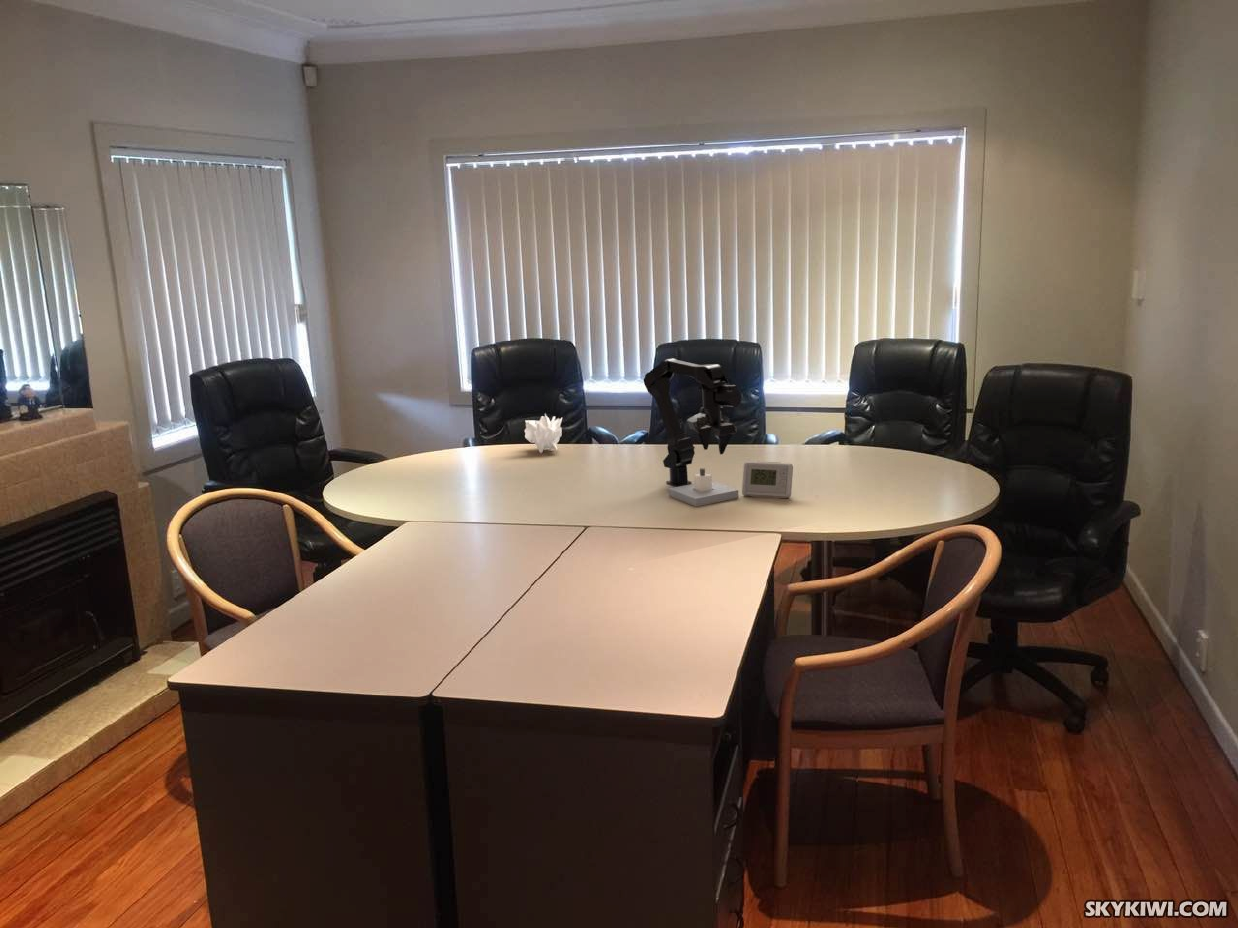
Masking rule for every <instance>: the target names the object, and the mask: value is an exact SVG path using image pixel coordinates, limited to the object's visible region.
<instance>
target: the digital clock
mask: <svg viewBox="0 0 1238 928" xmlns="http://www.w3.org/2000/svg"><path fill="white" fill-rule="evenodd" d="M793 473H794V465H793V464H792V463H788V462H780V461H779V462H777V461H776V462H772V461H744V464H743V472H742V485H741V486H742V487H741V494H742V495H743V496H746V497H747V496H748V497H753V498H765V499H769V498H770V499H781V498H782V499H789V498H791V496H792V491H793V489H792V487H793V475H794V474H793Z"/></svg>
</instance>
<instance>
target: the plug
mask: <svg viewBox="0 0 1238 928" xmlns="http://www.w3.org/2000/svg"><path fill="white" fill-rule="evenodd" d="M712 481H713V479H712V474H709V473H706V469H705V468H704V467H703V468H699V473H696V474H693V484H694V487H695V490H696V491H698V492H705V491H710V490H712Z"/></svg>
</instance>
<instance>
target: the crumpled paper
mask: <svg viewBox="0 0 1238 928" xmlns="http://www.w3.org/2000/svg"><path fill="white" fill-rule="evenodd" d="M562 420H563V417H562V416H561V418H559V417H558V418H556V416H555V415H554V416H552V419H551V420H550V418H549V417H548V415H547V413H544V416H543V415H542V416H540V419H539V420H524V421H525V427H526V428H524V433H525V434H524V437H525V439H526V440H527V441H528V442H530V444H531V443H532V444H535V446H537V447H536V448H537V449H538V452H539V453H540V454H542V453H543V451H544V450H545V449H546V450H547V449H549V452H550V451H551V452H552V451H554V450H555V451H558V450H559V449H558V447H557V444H558V443H559V441H560V438H561V437H562V433H563V431H562V430H563V428H562V427H561V424H562Z"/></svg>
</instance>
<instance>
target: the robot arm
mask: <svg viewBox="0 0 1238 928" xmlns="http://www.w3.org/2000/svg"><path fill="white" fill-rule="evenodd" d="M675 374H678V375H682V376H686V377H690V378H693V379H695V381H696V382H698V383H700V385H698V386H697V388H696V389H697V390H698V391H702V407H700V409H699V413H697V414H694V415H693V416H691V417H689V418H688V419H687V420H686V421H687V424H688V427H689V430H693V431H695V432H696V433H697V434H698V436H699V439H700V441H701V445H702V447H703V450H705V451H706V450H708V449H709V444H710V438H711V434H712V429H713V432H714V434H713V436H714V437H715V438H716V439H717V443H718V445H717V446H718V452H719V455H723V454H724V453H725V451H726V449H727V446H728V444H729V442H730V440H731V439H732V437H733V436H734V435H735V434H736V433H737V426H736V425H735V424H734V423H730V422H725V420H724V419H722V411H724V410H725V408H724V407H731V408H737V407H739V405H740V404H741V402H742V398H743V397H742V393H741V392H740V390H739V389H738V388H737V386H738V385H736V384H731V383H730V381H729V379H728V378H727V376H726V374H725V372H724V371H723V369H722V366H721V365H720V364H718V363H716V364H715V363H713V364H710V363H708V364H697V363H692V362H689V361H688V362H687V361H684V360H678V359H676V358H673V357H671V358H667V359H664V360H662V361H661V362H660V363H659V364H658V365H657V366H655V367H653V368H652V369H651V370H650V371H649V372H646V373H645V375H644V378H643V383H644V384H643V385H644V386H645V389H646V390H647V392H648V394H649V395H651V396H652V398H654V399H655V402H656V405H657V408H658V411H659V414H660V416H661V420H662V423H663V425H664V428H665V432H666V435H667V437H668V443H667V453H668V454H667V456H666V457H665V458H664V459H663V461H662V462H663V463H662V464H663V466H664V468H667V469H668V468H669V480H666V482H665V483H666V484H668V485H672V486H674V487H680V486H685V485H690V484H693V483H692V481H690V480H688V465H692V463H693V459H694V455H695V454H696V453H695V450H696V447H695V446H694V444H693V441H692V438H691V437H690V436H689V437H687V436H686V435H685V434H683V431H682V427H681V425H680V424H681V423H680V422H679V419H678V416H677V413H676V409H675V407H674V404H673V401H672V399H671V396H670V391H671V387H672V385H671V379H672V378H673V377H674V375H675Z"/></svg>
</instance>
